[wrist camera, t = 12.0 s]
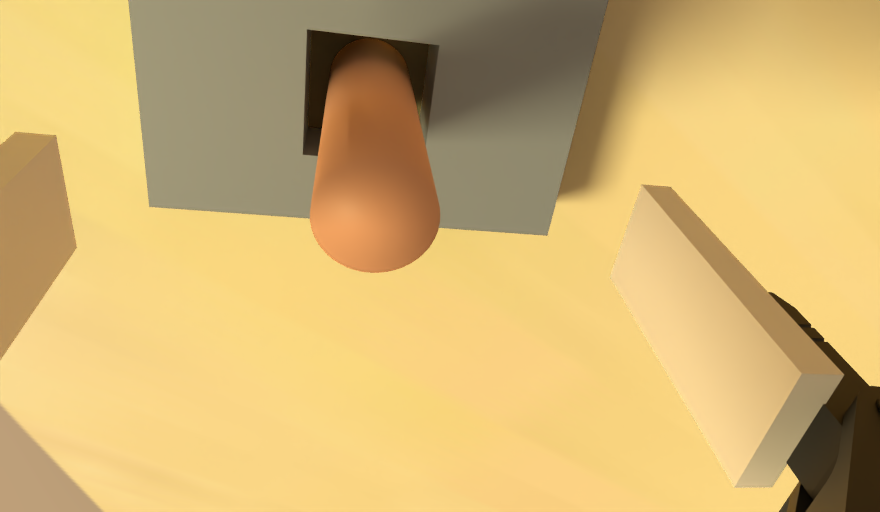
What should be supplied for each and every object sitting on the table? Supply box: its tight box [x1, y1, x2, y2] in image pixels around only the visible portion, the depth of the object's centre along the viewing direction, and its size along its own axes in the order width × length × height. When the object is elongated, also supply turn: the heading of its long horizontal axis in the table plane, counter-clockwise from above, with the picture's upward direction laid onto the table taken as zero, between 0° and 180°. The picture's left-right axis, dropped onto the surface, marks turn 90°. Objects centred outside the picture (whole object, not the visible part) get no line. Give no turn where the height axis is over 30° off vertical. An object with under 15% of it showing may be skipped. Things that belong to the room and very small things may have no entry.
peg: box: [310, 38, 440, 273], centre depth 21 cm, size 3×3×12 cm
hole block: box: [128, 0, 608, 236], centre depth 25 cm, size 16×10×3 cm, turn 82°
